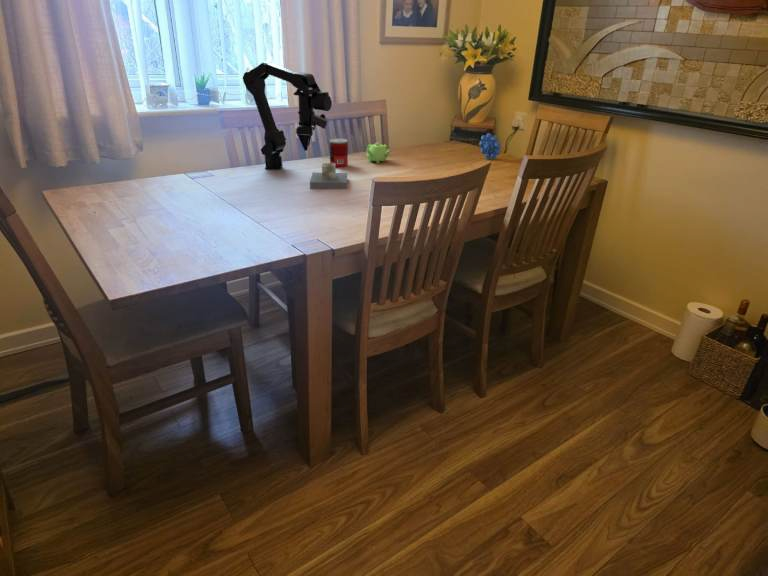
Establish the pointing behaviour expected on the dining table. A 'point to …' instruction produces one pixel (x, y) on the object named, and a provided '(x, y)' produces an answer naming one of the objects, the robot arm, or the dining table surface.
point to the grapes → (490, 146)
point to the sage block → (328, 170)
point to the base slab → (328, 181)
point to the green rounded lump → (377, 152)
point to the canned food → (339, 152)
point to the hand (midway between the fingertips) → (307, 147)
